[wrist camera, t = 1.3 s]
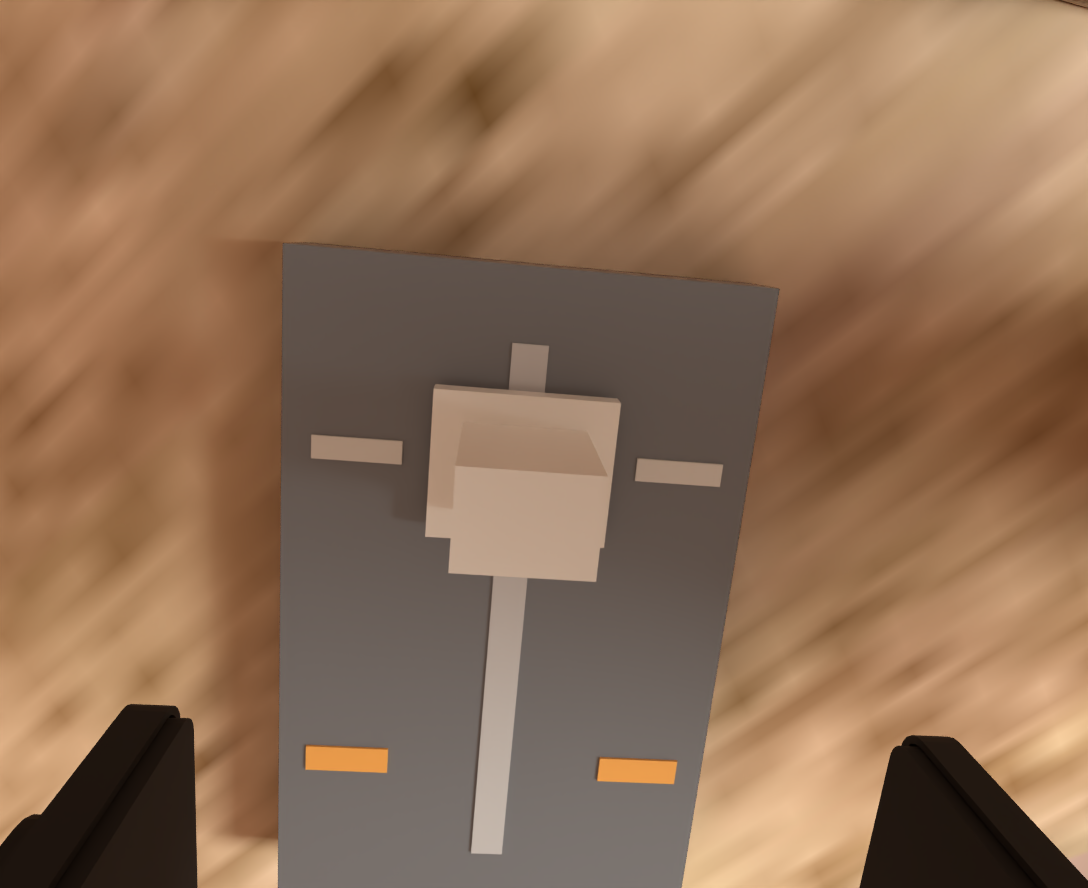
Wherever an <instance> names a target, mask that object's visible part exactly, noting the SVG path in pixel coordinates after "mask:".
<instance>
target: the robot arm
mask: <svg viewBox="0 0 1088 888" xmlns="http://www.w3.org/2000/svg"><path fill="white" fill-rule="evenodd" d="M0 888H197V848H196V805H195V761H194V727H193V722H192V720H191V719H190V718H180V713H179V710H178V708H177V707H176V706H166V705H141V704H130V705H127V706H126V707H125V708H124V709H123V710H122V711H121V712H120V714H119V715H118V716H117V717H116V719H115V720H114V721H113V723H112V724H111V725H110V726H109V728H108V729H107V730H106V732H105V733H104V734H103V736H102V737H101V738H100V739H99V741H98V742H97V743H96V745H95V746H94V747H93V748H92V750H91V751H90V752H89V754H88V755H87V756H86V757H85V759H84V760H83V761H82V763H81V764H80V765H79V767H78V768H77V769H76V770H75V772H74V773H73V774H72V776H71V777H70V778H69V779H68V781H67V782H66V783H65V785H64V786H63V787H62V788H61V790H60V791H59V792H58V794H57V795H56V796H55V798H54V799H53V800H52V801H51V803H50V804H49V805H48V807H47V808H46V809H45V810H44V812H43V813H42V814H41V815H39V814H33V815H31V816H29V817H27V818H25V819H23V820H22V821H21V822H20V823H19V824H18V825H17V826H16V827H15V828H14V829H13V831H12V832H11V833H10V834H9V836H8V837H7V838H6V839H5V841H4V842H3V843H2V844H1V846H0ZM860 888H1088V880H1087V879H1086V878H1085V877H1084V876H1083V875H1082V874H1081V873H1080V872H1079V871H1078V870H1077V869H1076V867H1074V865H1073V864H1072V863H1071V862H1070V861H1069V860H1068V859H1067V858H1066V857H1065V856H1064V855H1063V853H1062V852H1061V851H1060V850H1059V849H1058V848H1057V847H1056V846H1055V845H1054V844H1053V843H1052V842H1051V841H1050V840H1049V838H1048V837H1047V836H1046V835H1045V834H1044V833H1043V832H1042V831H1041V830H1040V829H1039V828H1038V827H1037V826H1036V824H1035V823H1034V822H1033V821H1032V820H1031V819H1030V818H1029V817H1028V816H1027V815H1026V814H1025V813H1024V812H1023V810H1022V809H1021V808H1020V807H1019V806H1018V805H1017V804H1016V803H1015V802H1014V801H1013V800H1012V799H1011V798H1010V796H1009V795H1008V794H1007V793H1006V792H1005V791H1004V790H1003V789H1002V788H1001V787H1000V786H999V785H998V784H997V783H996V781H995V780H994V779H993V778H992V777H991V776H990V775H989V774H988V773H987V772H986V771H985V770H984V769H983V767H982V766H981V765H980V764H979V763H978V762H977V761H976V760H975V759H974V758H973V757H972V756H971V755H970V753H969V752H968V751H967V750H966V749H965V748H964V747H963V746H962V745H961V744H960V743H959V742H958V741H957V740H955V739H954V738H951V737H941V736H916V735H911V736H908V737H906V739H905V740H904V741H903V743H902V745H901V746H897V747H895V748H894V749H893V750H892V752H891V755H890V759H889V763H888V767H887V772H886V776H885V780H884V785H883V789H882V793H881V798H880V802H879V806H878V810H877V815H876V819H875V823H874V828H873V832H872V836H871V841H870V845H869V849H868V853H867V858H866V862H865V866H864V871H863V875H862V879H861V884H860Z"/></svg>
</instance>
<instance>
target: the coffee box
mask: <svg viewBox="0 0 1088 888" xmlns="http://www.w3.org/2000/svg"><path fill="white" fill-rule="evenodd" d="M1062 1H1066V2H1069V3H1073V4H1076V5H1080V6H1084V7H1087V8H1088V0H1062Z"/></svg>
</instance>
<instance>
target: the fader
mask: <svg viewBox="0 0 1088 888" xmlns="http://www.w3.org/2000/svg"><path fill="white" fill-rule="evenodd" d="M620 408H621V403H620V401H619V400H618V399H617V398H606V397H593V396H581V395H568V394H555V393H543V392H530V391H517V390H505V389H492V388H479V387H467V386H454V385H441V384H435V386H434V390H433V407H432V425H431V442H430V460H429V478H428V495H427V513H426V530H425V537H438V538H451V540H450V555H449V570H448V573H454V574H470V575H487V576H504V577H521V578H537V579H554V580H571V581H587V582H596V578H597V570H598V561H599V552H600V548H604V544H605V535H606V527H607V518H608V510H609V501H610V493H611V484H612V476H613V468H614V459H615V451H616V442H617V434H618V425H619V417H620Z"/></svg>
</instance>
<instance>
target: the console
mask: <svg viewBox="0 0 1088 888" xmlns="http://www.w3.org/2000/svg"><path fill="white" fill-rule="evenodd" d="M778 295H779V289H778V288H773V287H767V286H762V285H756V284H751V283H740V282H729V281H718V280H707V279H697V278H686V277H675V276H664V275H653V274H642V273H631V272H621V271H610V270H599V269H588V268H577V267H566V266H555V265H544V264H534V263H523V262H512V261H501V260H490V259H479V258H468V257H458V256H447V255H436V254H425V253H414V252H403V251H392V250H382V249H371V248H360V247H349V246H338V245H327V244H316V243H306V242H305V243H283V287H282V417H281V546H280V676H279V806H278V888H681V887H682V881H683V875H684V869H685V863H686V857H687V851H688V844H689V838H690V832H691V826H692V820H693V814H694V808H695V802H696V796H697V790H698V783H699V777H700V771H701V765H702V759H703V753H704V747H705V741H706V735H707V728H708V722H709V716H710V710H711V704H712V698H713V692H714V686H715V680H716V674H717V667H718V661H719V655H720V649H721V643H722V637H723V631H724V625H725V619H726V612H727V606H728V600H729V594H730V588H731V582H732V576H733V570H734V564H735V558H736V551H737V545H738V539H739V533H740V527H741V521H742V515H743V509H744V503H745V497H746V490H747V484H748V478H749V472H750V466H751V460H752V454H753V448H754V442H755V435H756V429H757V423H758V417H759V411H760V405H761V399H762V393H763V387H764V381H765V374H766V368H767V362H768V356H769V350H770V344H771V338H772V332H773V326H774V319H775V313H776V307H777V301H778ZM435 384H441V385H454V386H467V387H479V388H492V389H505V390H517V391H530V392H543V393H555V394H568V395H581V396H593V397H606V398H617V399H618V400H619V401H620V403H621V408H620V417H619V425H618V434H617V442H616V451H615V459H614V468H613V476H612V484H611V493H610V501H609V510H608V518H607V527H606V535H605V544H604V548H600V552H599V561H598V570H597V578H596V582H587V581H571V580H554V579H537V578H521V577H504V576H487V575H470V574H454V573H448V570H449V555H450V540H451V538H438V537H425V530H426V513H427V495H428V478H429V460H430V442H431V425H432V407H433V390H434V386H435Z"/></svg>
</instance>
